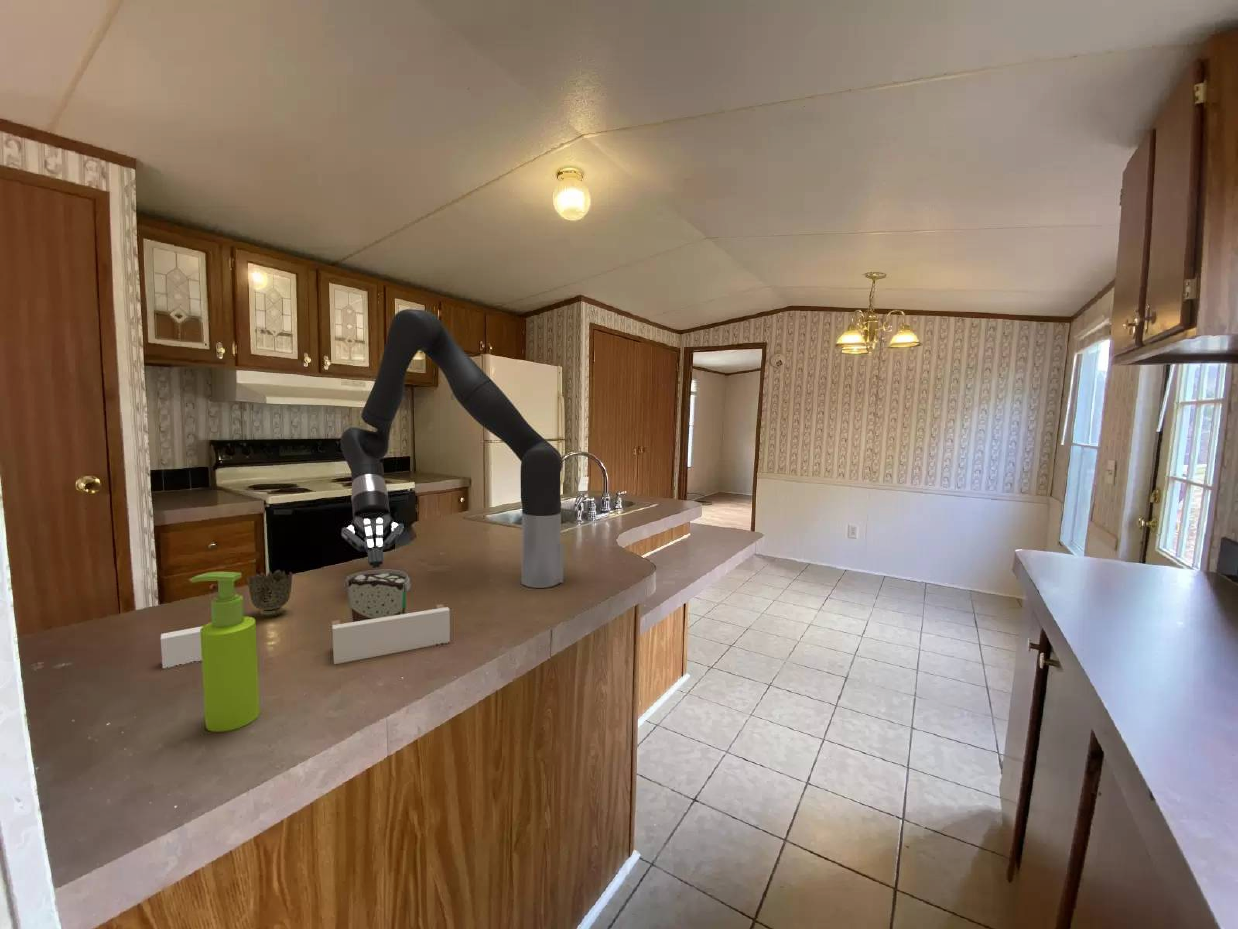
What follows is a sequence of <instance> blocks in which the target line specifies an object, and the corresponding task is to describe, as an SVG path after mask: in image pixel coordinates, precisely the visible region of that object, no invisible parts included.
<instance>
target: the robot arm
mask: <svg viewBox="0 0 1238 929" xmlns="http://www.w3.org/2000/svg"><path fill="white" fill-rule="evenodd" d="M419 351H421V352H422V353H424V355H426V356H427V357H428V358H429V359H430V360H431V361H432V362H433V363H434V364H435V365H436V366H437V367H438V368H439V369H440V371H441V372H442V373H443V375H444V377H445V379H446V381H447V383H448V385H449V386H448V387H449V388H450V389H451V392H452V395H453V396H454V398H455V399H456V401H458V403H459V404H460V405H461V406H462V408H463V409H464V410H465V411H466V412H467V413H468V414H469V415H470V416H471V417H472V418H473V419H474V421H476V422H477V423H478V424H479V425H481V426H482V427H483V428H484V429H486V430H487V431H488V432H489V433H491V434H492V435H494V436H495V437H496V438H498V439H499V440H501V442H503V443H505V445H506V446H507V447H508V448H509V449H511V451H512V452H513V453H514V454H515V456H516V457H517V458H518V460H519V461H520V474H519V476H520V502H521V574H520V578H521V584H522V585H524V586H526V587H528V588H529V587H530V588H538V589H540V588H541V589H543V588H550V587H554V586H558V585H559V584H563V582H564V551H565V550H564V544H563V543H562V542H561V536H562V535H561V531H562V530H561V525H562V524H561V516H562V514H561V513H562V500H561V479H562V478H561V474H562V469H563V466H564V464H563V463H564V462H563V461H564V460H563V456H562V455H561V453H560V451H559V450H558V449H557V448H555V447H554V446H553V445H552V444H551V443H549V442H548V441H547V440H546V439H545V438H544V437H543V435H541V434H539V432H537V430H535V429H534V428H533V427H532V426H531V425H530V423H528V422H527V421H526V419H525V417H524V416H523V415H522V414H521V413H520V411H519V410H518V408H516V406H515V405H514V404H513V402H512V401H510V399H509V398H508V396H507V395H506V394H505V393H504V392H503V391H502V389H501V388H500V387H499V386H498V385H497V384H496V383H495V382H494V380H492V379H491V378H490V377H489V376H488V375H487V374H486V373H485V371H483V369H481V367H480V366H479V365H478V364H477V363H476V362H475V361H474V360H473V359H472V358H471V357H470V356H469V355H468V354H467V353H466V352H465V351H464V350H463V349H462V348H461V346H460V345H459V344H458V342H457V341H456V340H455V338H454V337H453V336H452V334H451V333H450V332H449V331H448V329H447V328H446V326H445V325H444V324H443V323H442V321H441V320H440V318H438V316H436V315H435V314H434V313H432V312H431V311H428V310H425V309H415V308H407V309H402V310H399V311H398V312H397V313H396V314H395V315H394V316H393V317H392V320H391V322H390V325H389V329H388V333H387V336H386V341H385V346H384V350H383V353H382V357H381V360H380V364H379V365H380V366H379V368H378V371H377V375H376V377H375V380H374V383H373V385H372V388H371V391H370V393H369V394H368V397H367V399H366V401H365V403H364V406H363V408H362V411H361V419H362V421H363V423H365V424H367V425H368V426H370V427H372V428H375V430H376V431H373V430H368V429H363V428H360V427H355V426H354V427H349V428H347V429H346V430H345V431H344V432H343V433H342V435H341V437H340V450H341V452H342V455H343V457H344V459H345V461H346V464H347V466H348V468H349V470H350V475H351V476H350V477H351V493H350V494H351V499H350V500H351V505H352V506H351V507H352V520H351V522H350V523H351V524H350V525H348V527H346V526H345V527H342V528H341V538H342V539H344V541H346V542H347V543H349V544H350V545H351V546H352V547H353V548H354V549H355V550H357V551H358V552H366V553H367V561H368V565H369V566H371V567H372V569H375V568H380V567H381V565H383V563H384V552H383V551H384V550H389V549H391V547H392V546H393V545H394V543H395V542H396V541H397V540H398V539H399V537H400V536H401V535H402V534H403V530H404V524H403V523H402V522H401V523H397V522H394V518H393V517H392V516H391V511H390V503H389V502H390V501H389V496H388V495H389V494H388V488H387V484H386V480H385V471H384V465H383V463H382V462H381V461H380V460H382V459H384V458H385V456H386V455H387V453H388V451H389V445H390V442H389V441H390V435H391V428H392V424H393V422H394V419H395V417H396V415H397V413H398V410H399V408H400V407H401V404H402V401H403V397H404V392H405V391H404V390H405V379H406V375H407V371H408V369H409V366H410V365H411V363H412V361H413V359H414V358H415V357H416V355H417V353H418V352H419ZM390 529H391V531H390ZM389 531H390V532H391V533H390V534H389V536H387V538H386V539H384V541H383V538H384V536H386V534H387V533H388V532H389ZM355 533H356V534H357V535H356V534H355ZM358 535H359V536H360V537H361V538H362V539H364V541H363V540H362V539H361V538H360V537H358ZM374 539H375V543H374Z"/></svg>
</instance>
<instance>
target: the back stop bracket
mask: <svg viewBox="0 0 1238 929" xmlns="http://www.w3.org/2000/svg"><path fill="white" fill-rule="evenodd" d="M450 616H451V612H450V608H449V607H448V606H447V607H445V606H444V604H443V603H441V604H440V603H439V604H435V608H433V609H426V610H420V611H414V612H409V613H407V612H406V613H405V614H401V615H395V616H388V617H382V618H376V619H369V620H363V621H357V622H352V621H351V622H345V623H341V621H340V619H338V620H332V621H331V640H332V641H331V642H332V644H331V645H332V656H333V665H339V664H345V663H348V662H354V661H359V660H364V659H369V658H375V657H380V656H385V655H392V654H396V653H401V652H406V651H412V650H416V649H422V648H427V647H433V646H436V644H438V645H442V644H441V643H443V644H448V642H449V643H451V631H450V630H451V622H450V621H451V617H450Z"/></svg>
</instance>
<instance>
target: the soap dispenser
mask: <svg viewBox="0 0 1238 929" xmlns="http://www.w3.org/2000/svg"><path fill="white" fill-rule="evenodd" d="M241 578H242V573H241V572H233V571H210V572H205V573H202V574H198V575H196V576H194V577H192V578H189V579H188V581H189V582H190V583H197V582H207V581H208V582H210V581H211V582H217V587H218V590H217V591H218V596H216V597H215V598H213V599H212V600H211V602H210V607H211V608H210V609H211V613H210V614H211V621H210V622H209V623H206V624H205V625H203V627H202V626H201V627H202V628H201V629H200V638H201V655H202V660H201V669H202V682H203V683H202V686H203V703H204V704H203V705H204V706H203V707H204V718H205V719H204V721H205V728H206V729H207V730H208V731H210V732H217V733H220V732H221V733H222V732H230V731H233V730H237V729H239V728H242V727H245V726H246V725H249V724H251V723H252V722H254V721H255V720H257V718H258V717H259V715H260V711H261V710H260V709H261V707H260V692H259V691H260V690H259V668H258V665H259V664H258V650H257V649H258V648H257V629H256V628H257V625H256V619H255V618H254V617H252V616H245V615H244V597H243V595H241V594H240V595H239V594H237V593H236V592H235V591H236V590H235V589H236V588H235V581H237V580H239V579H241Z"/></svg>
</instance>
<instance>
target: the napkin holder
mask: <svg viewBox="0 0 1238 929" xmlns="http://www.w3.org/2000/svg"><path fill="white" fill-rule="evenodd" d="M203 626H204V625H203ZM203 626H197V627H192V628H186V629H181V630H175V631H170V632H165V633H161V634H160V650H161V665H162V669H163V668H164V669H168V668H173V667H176V666H175V665H178V666H180V665H179V664H182V665H186V663H187V664H191V663H190V662H192V663H194V662H193V661H196V662H202V655H201V638H200V629H201V628H202V627H203ZM167 667H168V668H167Z"/></svg>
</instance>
